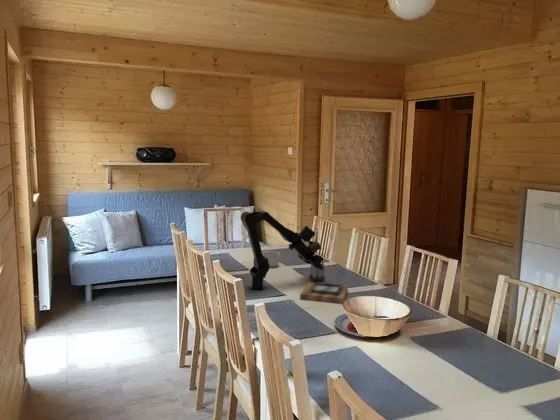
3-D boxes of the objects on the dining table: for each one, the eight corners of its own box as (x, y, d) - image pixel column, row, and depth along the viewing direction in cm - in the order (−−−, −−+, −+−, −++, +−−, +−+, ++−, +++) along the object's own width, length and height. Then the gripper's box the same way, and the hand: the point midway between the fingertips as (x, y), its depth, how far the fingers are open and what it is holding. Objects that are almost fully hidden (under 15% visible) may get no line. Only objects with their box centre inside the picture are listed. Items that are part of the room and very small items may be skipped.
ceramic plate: (400, 345, 176) (401, 337, 176) (331, 338, 181) (331, 331, 181) (398, 320, 201) (398, 313, 201) (336, 314, 206) (337, 307, 206)
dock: (300, 299, 224) (300, 291, 224) (308, 286, 243) (308, 279, 243) (342, 303, 219) (342, 295, 219) (347, 290, 238) (347, 282, 238)
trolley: (314, 282, 249) (315, 259, 247) (309, 279, 254) (310, 256, 253) (324, 281, 252) (325, 258, 250) (319, 277, 257) (320, 255, 255)
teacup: (280, 264, 286) (280, 251, 285) (278, 269, 276) (278, 255, 274) (257, 263, 288) (257, 250, 286) (254, 267, 277) (255, 254, 276)
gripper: (320, 240, 240) (338, 260, 246) (304, 233, 257) (321, 252, 263) (306, 257, 238) (324, 276, 244) (290, 249, 254) (308, 267, 260)
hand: (319, 267), depth 253 cm, fingers closed on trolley, 6 cm apart
